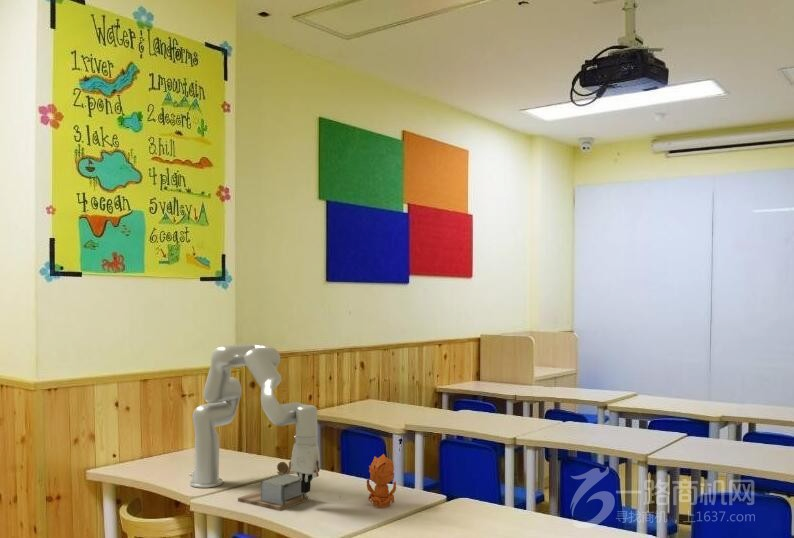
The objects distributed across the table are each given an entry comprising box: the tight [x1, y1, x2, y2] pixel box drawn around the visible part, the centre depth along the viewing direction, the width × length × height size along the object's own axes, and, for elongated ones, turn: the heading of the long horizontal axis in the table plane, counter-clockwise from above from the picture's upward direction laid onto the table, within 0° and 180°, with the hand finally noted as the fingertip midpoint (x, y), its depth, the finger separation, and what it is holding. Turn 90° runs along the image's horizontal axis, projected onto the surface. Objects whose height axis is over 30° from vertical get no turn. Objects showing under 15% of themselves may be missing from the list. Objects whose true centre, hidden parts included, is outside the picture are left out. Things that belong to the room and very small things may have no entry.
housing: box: [260, 473, 307, 506], centre depth 267 cm, size 10×13×7 cm
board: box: [237, 489, 309, 511], centre depth 270 cm, size 20×16×2 cm
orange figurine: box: [366, 453, 397, 509], centre depth 266 cm, size 11×11×18 cm
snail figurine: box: [276, 457, 292, 476], centre depth 285 cm, size 5×6×12 cm
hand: (305, 491), depth 262 cm, fingers closed
